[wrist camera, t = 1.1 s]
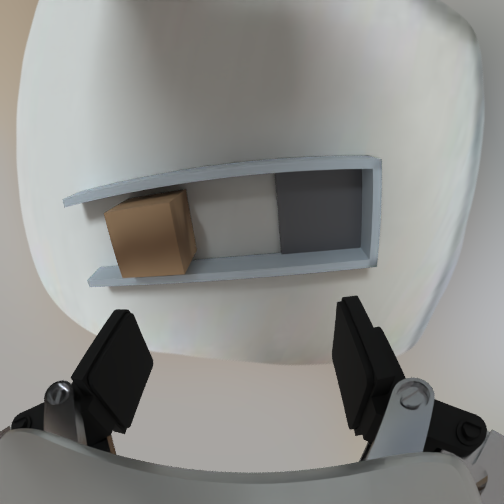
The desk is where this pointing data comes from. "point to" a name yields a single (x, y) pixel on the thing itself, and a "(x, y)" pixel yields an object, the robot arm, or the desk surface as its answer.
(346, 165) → the channel
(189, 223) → the walnut block
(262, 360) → the desk surface
